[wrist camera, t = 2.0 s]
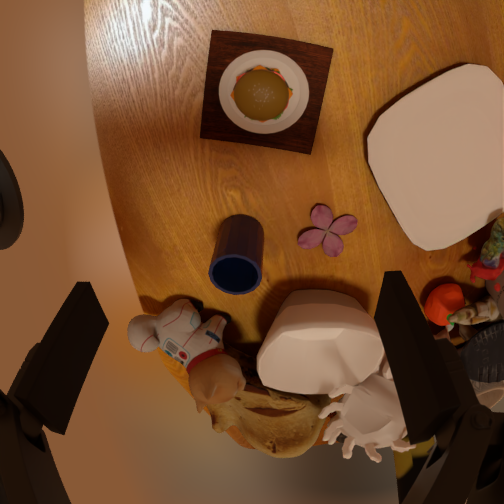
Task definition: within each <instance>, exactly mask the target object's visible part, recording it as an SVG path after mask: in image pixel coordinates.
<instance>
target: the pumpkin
mask: <svg viewBox="0 0 504 504" xmlns="http://www.w3.org/2000/svg"><path fill="white" fill-rule="evenodd" d="M465 304H466V303H465V299H464V295H463V293H462V290H461V287H460V286H459V285H457V284H454V283H447V284H443V285H440V286H438V287H436V288H435V289H434V290H433V291H431V293H430V294H429V296H428V298H427V300H426V303H425V306H424V312H425V314H426V316H427V317H428V318H429V319H430V321H432V322H434V323H435V324H437V325H440V326H445V325H450V324H451V325H452V326H453V325H454V323H452V322H449V321H448V318H449V316H450V315H452V314H453V313H454V312H455V311H456V310H458V309H460V308H463V307H465Z"/></svg>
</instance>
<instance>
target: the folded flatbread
mask: <svg viewBox="0 0 504 504" xmlns="http://www.w3.org/2000/svg"><path fill="white" fill-rule="evenodd" d="M222 342H223V345H224V349H225V350H226V352H227V354H228V355H229V356H231V357H232V358H234V359H235V360H236V361H237V362H238V363H239V365H240V367H241V370H242V375H243V377H244V378H245V379H246V388H245V389H244V390H240V391H238V392H237V393H236V395H235V396H234V397H233V398H232V399H231V400H229V401H227V402H224V403H220V404H208V405H207V408H208V409H209V411H210V415H211V419H212V428H213V429H214V430H215V431H216V432H217V433H222V432H223V431H225V430H226V429H228V428H229V427H230V426H231V425H235V426H237V427H238V429H239V430H240V432H241V433H242V435H243V436H244V438H245V439H246V440H247V441H248V442H249V443H250V444H251V445H252V446H253V447H254V448H255V449H257V450H259V451H262V452H263V453H265V454H268V455H270V456H272V457H278V458H290V457H296V456H299V455H301V454H303V453H304V452H305V451H306V450H307V449H308V448H310V447H311V446H312V445H313V444H314V443H315V441H316V439H317V437H318V435H319V432H320V429H321V428H322V426H323V424H324V422H325V419H326V417H325V418H323V419H321V418H319V417H318V415H319V414H320V413H321V412H322V410H323V408H325V407H326V406H329V405H330V402H331V398H330V397H329V395H328V394H299V393H291V392H285V391H280V390H277V389H273V388H270V387H267V386H264V385H263V384H262V381H261V379H260V377H259V374H258V372H257V361H256V360H255V359H254V358H253V357H251V356H248V355H246V354H244V353H243V352H241V351H239V350H236V349H234V348H233V347H231V346H229V345H228V344H227V343H226V342H225V341H223V340H222Z"/></svg>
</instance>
